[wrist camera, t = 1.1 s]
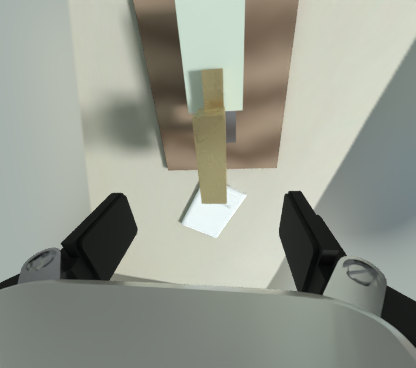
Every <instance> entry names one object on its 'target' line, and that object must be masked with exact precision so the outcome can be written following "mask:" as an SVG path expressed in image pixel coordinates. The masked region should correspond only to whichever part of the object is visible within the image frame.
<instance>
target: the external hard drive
mask: <svg viewBox="0 0 416 368" xmlns="http://www.w3.org/2000/svg"><path fill="white" fill-rule="evenodd" d="M246 196H247V195H246V193H245V192H243V191H240V190H238V189H236V188H234V187H231V186H227V204H202V202H201V193H200V188H199V190H198V192H197V194H196V195H195V197H194V199H193V201H192V203H191V205H190V207H189V209H188V211H187V213H186V215H185V217H184V219H183V221H182V225H184V226H187V227H189V228H192V229H194V230H197V231H199V232H202V233H204V234H207V235H209V236H212V237H215V238H217V236H218V235H219V234H220V232H221V231H222V229H223V228H224V227H225V225H226V224H227V222H228V221H229V219H230V218H231V217H232V215H233V214H234V212H235V211H236V210H237V208H238V207H239V205H240V204H241V203H242V201H243V200H244V198H245V197H246Z"/></svg>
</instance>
